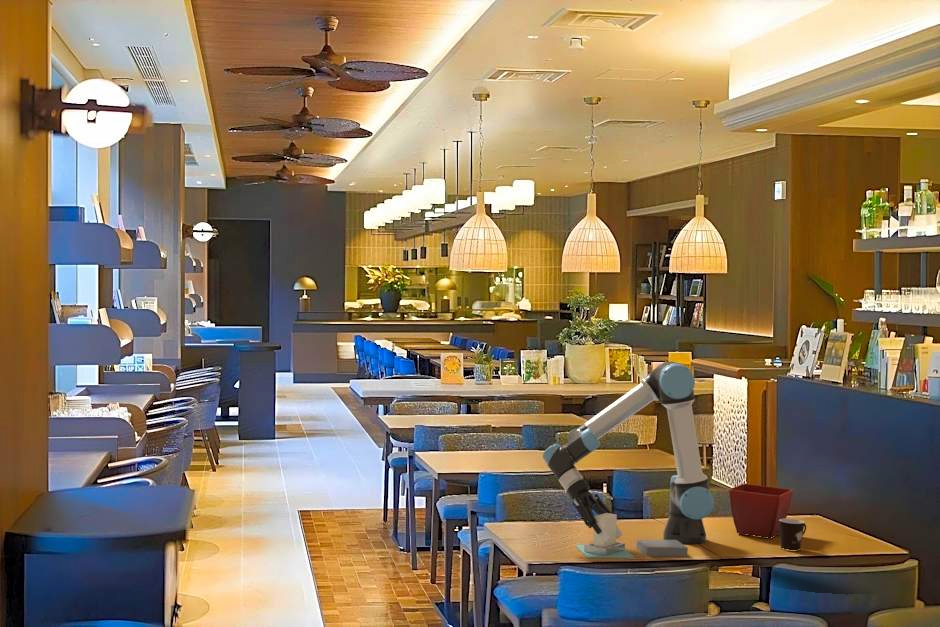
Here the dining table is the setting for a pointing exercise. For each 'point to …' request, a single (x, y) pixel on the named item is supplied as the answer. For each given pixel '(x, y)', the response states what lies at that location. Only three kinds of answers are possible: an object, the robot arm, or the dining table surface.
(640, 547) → the plate
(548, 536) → the dining table surface
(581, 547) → the mat
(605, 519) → the block
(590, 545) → the holder
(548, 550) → the dining table surface
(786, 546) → the coffee mug
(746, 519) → the plant pot
